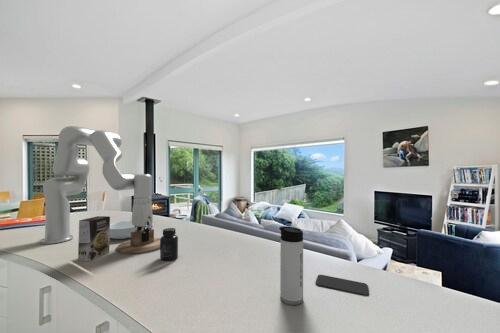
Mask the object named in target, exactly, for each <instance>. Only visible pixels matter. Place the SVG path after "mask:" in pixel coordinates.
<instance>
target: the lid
mask: <svg viewBox="0 0 500 333" xmlns="http://www.w3.org/2000/svg"><path fill="white" fill-rule="evenodd" d="M142 233H143V229H142V230H139V231H134V232H131V236H130V238H129V240H126V241H123V242H121V243H119V244H118V245H117V251H118V252H120V253H124V254H140V253H146V254H148V253H147V252H151V251H155V250H158V249H160V239H161V237H155V229H153V228H151V230H150V232H149V241H146V242H142ZM158 251H159V250H158ZM155 252H156V251H155ZM151 253H152V252H151ZM140 255H141V254H140Z"/></svg>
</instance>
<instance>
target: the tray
mask: <svg viewBox="0 0 500 333" xmlns="http://www.w3.org/2000/svg"><path fill="white" fill-rule="evenodd" d="M117 247H118V246H117ZM117 247H115V249H114V252H115V253H117V254H118V255H124V256H138V255H146V254H151V253H155V252H159V251H160V249H158V250H155V251H151V252H147V253H140V254H124V253H120V252H118V251H117Z"/></svg>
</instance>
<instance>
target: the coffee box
mask: <svg viewBox="0 0 500 333" xmlns="http://www.w3.org/2000/svg"><path fill="white" fill-rule="evenodd" d="M110 224H111V216H108V215H107V216H106V215H105V216H104V215H103V216H101V215H100V216H99V215H97V216H92V217H89V218H84V219H80V220H79V221H78V248H77V251H78V252H77V260H78V261H83V262H92V261H96V260H98V259H99V258H103V257H105V256H106V255H109V254H110V242H111V241H110V239H111V238H110Z"/></svg>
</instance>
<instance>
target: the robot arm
mask: <svg viewBox="0 0 500 333" xmlns="http://www.w3.org/2000/svg"><path fill="white" fill-rule="evenodd" d="M57 143H58V146H57V149H56V154H55V157H54V161H53V165H52V172H53V174H54V175H56V176H59V177H52V178H48V179H47V180H45V181H44V183H43V185H42V191H43V195H44V202H45V203H44V204H45V206H44V207H45V211H44V212H45V213H44V214H45V216H44V220H45V223H44V238H42V239H41V240H40V243H41V244H43V245H52V244H54V245H55V244H59V243H64V242H68V241H70V240H73V239H74V235H73V234H70V231H71V230H70V229H71V228H70V224H71V223H70V222H71V220H70V219H71V204H70V201H69V199H68V198H67V196H73V195H80V194H81V193H82V192H83V190H84V189H85V187H86V184H87V181H88V180H87V179H88V176H89V172H90V164H89V162H88V160H86V159H84V158H82V157H78V156H79V153H80V150H79V146H78V145H83V146H91V147H94V149H95V151H96V152H97V154H98V155H99V157H100V158H101V159H102V160H101V161H103V164H102V169H101V170H102V175H103V178H104V179H105V180H106V182H107V184H108V185H109V186H110V188H112V189H113V190H115V191H128V190H133V205H132V211H131V213H132V214H131V221H132V224H133V225H134V226H135V231H139V230H143V233H142V242H146V241H149V232H150V230H151V229H153V227H154V226H153V218H154V215H153V206H152V204H153V202H152V199H153V198H152V197H153V196H152V195H153V177H152V175H151V174H149V173H139V174H137V173H121V172H120V170H119V169H118V167H117V165H116V163H117V162H119V161H120V160H121V159H122V157H123V153H122V151H121V150H120V147H121V145H122V138H121V136H120V135H119V134H117V133H115V132H112V131H107V130H102V129H101V130H98V129H97V130H96V129H91V128H87V127H82V126H76V125H75V126H74V125H69V126H65V127H63V128H62V129H61V130H60V132H59V134H58V142H57Z"/></svg>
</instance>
